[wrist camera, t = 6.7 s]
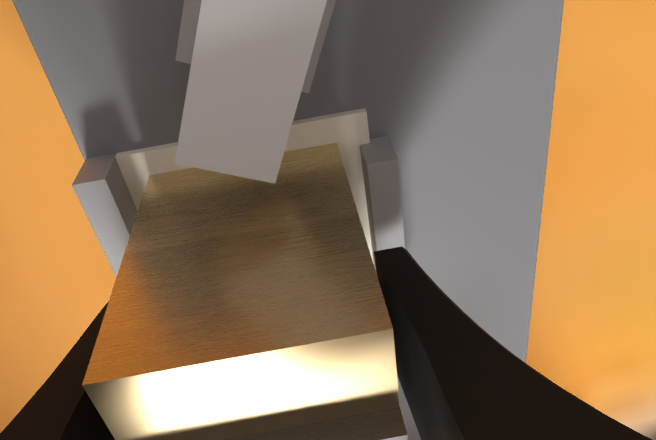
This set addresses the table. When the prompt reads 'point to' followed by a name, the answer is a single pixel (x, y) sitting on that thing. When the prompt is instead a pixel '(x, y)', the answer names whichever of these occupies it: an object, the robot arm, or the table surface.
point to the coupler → (248, 313)
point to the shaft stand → (327, 119)
